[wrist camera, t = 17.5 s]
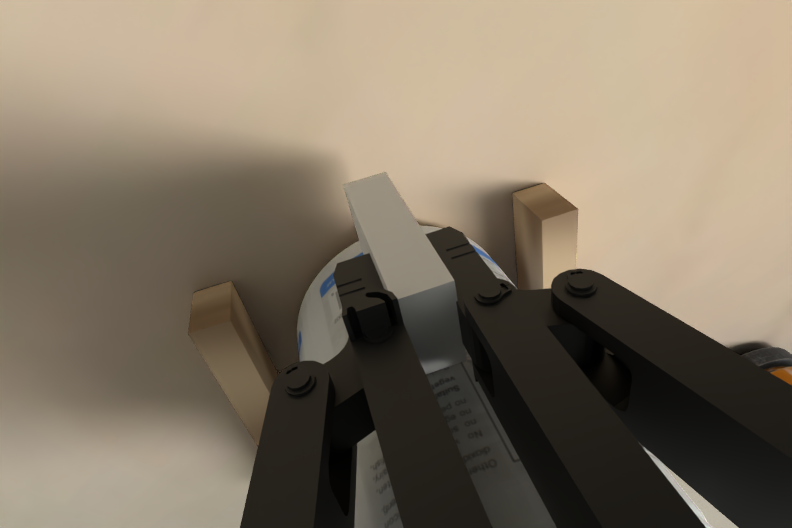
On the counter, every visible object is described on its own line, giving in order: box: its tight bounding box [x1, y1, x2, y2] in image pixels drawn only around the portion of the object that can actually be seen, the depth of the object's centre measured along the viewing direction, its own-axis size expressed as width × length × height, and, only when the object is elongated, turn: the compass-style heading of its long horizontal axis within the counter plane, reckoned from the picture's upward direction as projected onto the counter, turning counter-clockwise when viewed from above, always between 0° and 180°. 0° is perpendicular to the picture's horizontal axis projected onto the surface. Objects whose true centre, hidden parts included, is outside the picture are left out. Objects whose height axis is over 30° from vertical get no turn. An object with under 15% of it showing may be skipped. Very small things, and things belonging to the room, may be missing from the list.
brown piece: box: [188, 183, 578, 446], centre depth 23 cm, size 13×15×2 cm
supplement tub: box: [297, 226, 714, 528], centre depth 16 cm, size 10×10×15 cm
